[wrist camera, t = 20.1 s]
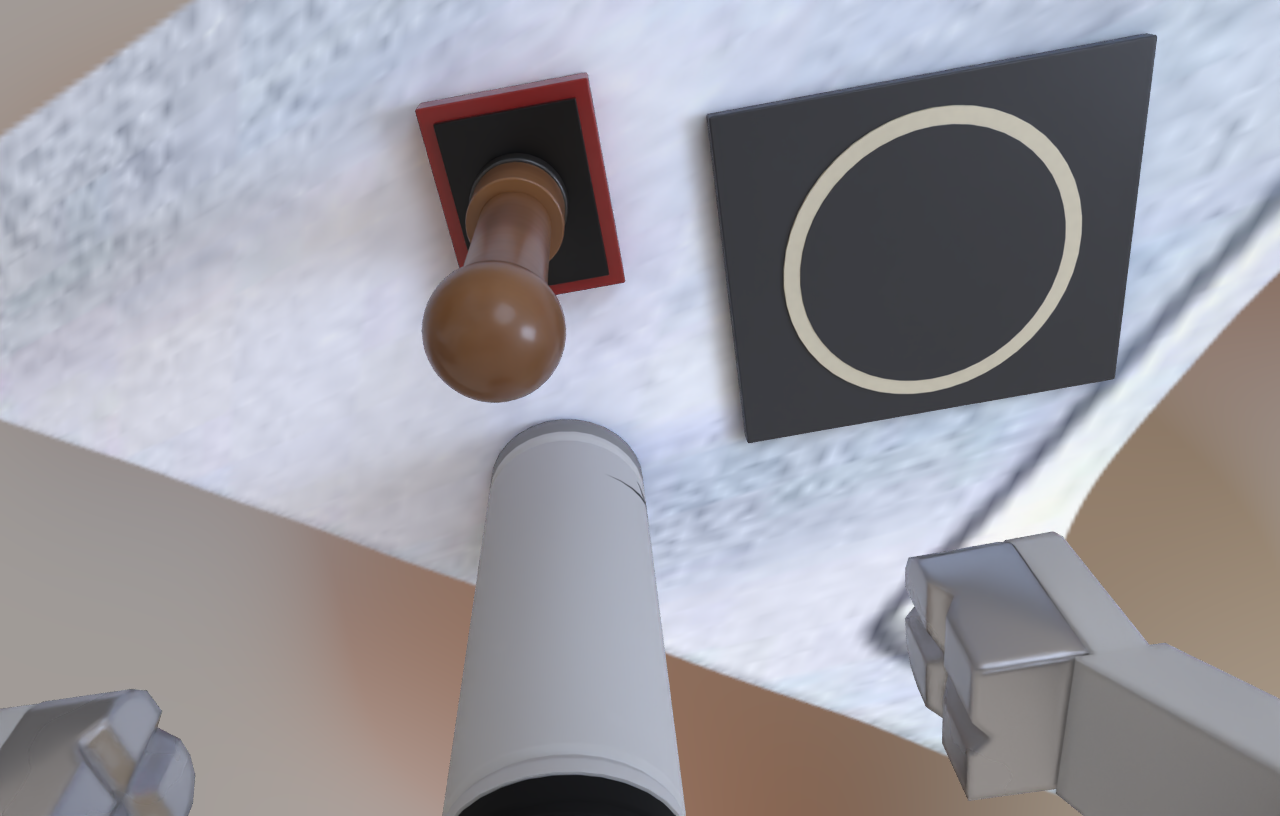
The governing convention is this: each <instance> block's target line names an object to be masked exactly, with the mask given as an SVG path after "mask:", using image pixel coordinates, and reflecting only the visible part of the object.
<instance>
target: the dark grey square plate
mask: <svg viewBox="0 0 1280 816" xmlns="http://www.w3.org/2000/svg"><path fill="white" fill-rule="evenodd" d="M1156 41H1157V36H1156V35H1152V34H1141V35H1136V36H1130V37H1125V38H1119V39H1114V40H1109V41H1103V42H1098V43H1092V44H1087V45H1081V46H1076V47H1070V48H1065V49H1060V50H1054V51H1049V52H1043V53H1038V54H1032V55H1027V56H1021V57H1016V58H1011V59H1005V60H1000V61H994V62H989V63H983V64H978V65H972V66H967V67H962V68H956V69H951V70H945V71H940V72H934V73H929V74H923V75H918V76H912V77H907V78H902V79H896V80H891V81H885V82H880V83H874V84H869V85H863V86H858V87H853V88H847V89H842V90H836V91H831V92H825V93H820V94H814V95H809V96H804V97H798V98H793V99H787V100H782V101H776V102H771V103H765V104H760V105H755V106H749V107H744V108H738V109H733V110H727V111H722V112H716V113H711V114H708V115H707V123H708V132H709V140H710V148H711V156H712V165H713V173H714V181H715V189H716V198H717V206H718V214H719V222H720V231H721V239H722V247H723V256H724V264H725V272H726V280H727V289H728V297H729V305H730V313H731V322H732V330H733V338H734V347H735V355H736V363H737V371H738V380H739V388H740V396H741V404H742V413H743V421H744V429H745V436H746V439H747V442H748V443H753V442H758V441H764V440H770V439H775V438H781V437H787V436H792V435H798V434H804V433H810V432H815V431H821V430H827V429H832V428H838V427H844V426H849V425H855V424H861V423H867V422H872V421H878V420H884V419H889V418H895V417H901V416H906V415H912V414H918V413H924V412H929V411H935V410H941V409H946V408H952V407H958V406H963V405H969V404H975V403H981V402H986V401H992V400H998V399H1003V398H1009V397H1015V396H1020V395H1026V394H1032V393H1038V392H1043V391H1049V390H1055V389H1060V388H1066V387H1072V386H1077V385H1083V384H1089V383H1094V382H1100V381H1106V380H1112V379H1114V378H1115V371H1116V363H1117V355H1118V347H1119V339H1120V331H1121V323H1122V315H1123V307H1124V298H1125V290H1126V282H1127V274H1128V266H1129V258H1130V250H1131V242H1132V234H1133V226H1134V218H1135V210H1136V202H1137V194H1138V186H1139V178H1140V170H1141V162H1142V154H1143V146H1144V138H1145V130H1146V122H1147V114H1148V106H1149V98H1150V90H1151V81H1152V73H1153V65H1154V57H1155V49H1156Z"/></svg>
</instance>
